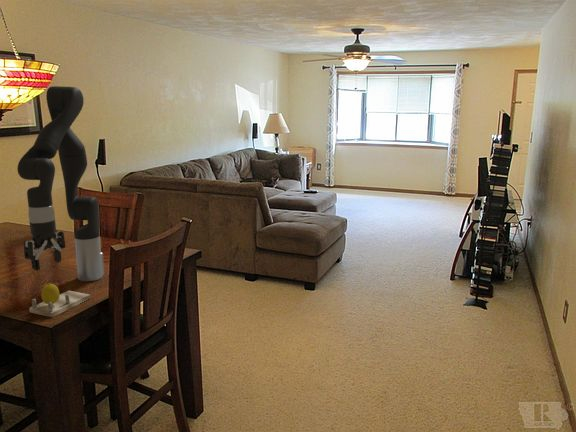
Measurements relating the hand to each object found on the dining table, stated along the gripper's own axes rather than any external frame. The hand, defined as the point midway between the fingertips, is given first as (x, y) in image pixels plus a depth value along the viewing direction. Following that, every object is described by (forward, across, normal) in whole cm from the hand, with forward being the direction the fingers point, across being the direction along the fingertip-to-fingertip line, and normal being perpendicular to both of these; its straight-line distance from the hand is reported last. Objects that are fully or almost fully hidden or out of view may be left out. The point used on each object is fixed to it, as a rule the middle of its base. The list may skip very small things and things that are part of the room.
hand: (47, 265), depth 159 cm
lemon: (+14, 0, 0) cm, 14 cm away
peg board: (+16, -4, 0) cm, 16 cm away
